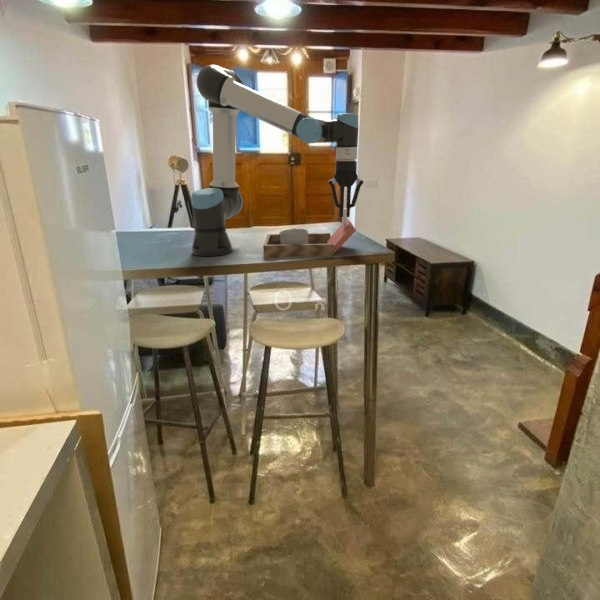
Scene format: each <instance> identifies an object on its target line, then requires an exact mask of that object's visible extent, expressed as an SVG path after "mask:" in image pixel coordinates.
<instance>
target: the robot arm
mask: <svg viewBox="0 0 600 600" xmlns="http://www.w3.org/2000/svg"><path fill="white" fill-rule="evenodd" d="M196 88H197V91H198V92H199V94H200V96H201V97H202V98H203V99H205V100H207V101H208V103H207V104H208V110H209V111H210V112H211V113H212V171H213V172H212V180H211V181H210V182H209V185H208V186H209V187H206V188H203V189H202V188H201V189H198V190H195V191H193V192H192V193H191V196H190V197H191V201H190V204H191V208H192V209H191V210H192V211H191V212H192V219H193V227H194V235H193V236H194V237H193V242H192V246H191V250H192V251H191V253H192V254H193V255H194V256H197V257H218V256H223V255H224V256H225V255H228V254H230V253H232V252H233V245H232V242H231V240H230V237H229V235H228V232H227V228H226V220H229V219H232V218H234V217H235V216H237V215H238V214H239V213H240V211H241V210H242V209H243V208H242V207H243V204H244V203H243V201H244V200H243V196H242V195H241V193H240V185H239V184H238V183H237V182H236V146H237V145H236V142H237V141H236V136H237V135H236V133H237V132H236V131H237V130H236V128H237V127H236V126H237V123H236V121H237V115H238V114H239V113H240V111H241V112H242V113H245V114H247V115H249V116H251V117H254V118H256V119H258V120H259V121H262V122H264V123H267V124H268V125H270V126H273V128H274V127H275V128H277V129H279V130H281V131H283V132H285V133H287V134H290V135H292V136H293V137H295V138H298V139H299V140H300V141H302V142H303V143H306V144H316V143H317V144H320V143H321V144H323V143H324V144H326V143H328V144H329V143H331V144H333V143H334V144H336V149H335V159H336V161H335V172H334V175H333V178H331V179H329V180H328V181H327V183H328V184H329V186H330V189H331V194H332V199H333V202H334V207H336V208H338V209H339V217H340V218H341V225H342V226H343V227H346V221H347V219H348V218H350V215H351V212H350V211H351V208H354V207H355V206H356V204H357V200H358V196H359V192H360V190H361V187H362V185H363V184H364V181H363V180H362V179H360V178H359V177H358V174H357V169H358V168H357V166H358V165H357V164H358V162H357V159H358V143H359V141H358V139H359V116H358V114H357V113H354V112H343V113H341V112H340V113H337V115H336V118H335V119H316V118H314V117H311V116H309V115H307V114H306V113H303V112H301V111H298V110H297V109H294V108H292V107H290V106H288V105H286V104H284V103H282V102H280V101H277V100H275V99H274V98H271V97H269V96H267V95H265V94H262V93H260V92H258V91H257V90H254V89H252V88H250V87H248V86H247V85H246V86H245V84H244V81H243V79H242V78H241V77H240V76H239V74H237V72H235V71H233V70H232V69H228V68H225V67H221V66H220V65H216V64H208V65H205V66H203V67H202V68H201V69H200V70H199V71H198V74H197V77H196ZM336 183H337V185H338V186H339V201H338V196H337V191H336V187H335V184H336ZM354 184H356V185H355V189H354V192H353V195H351V193H352V192H351V191H352V186H354ZM345 188H346V199H344V197H345ZM351 196H353V197H352V200H351ZM345 200H346V204H345V206H346V207H344V203H345V202H344V201H345Z"/></svg>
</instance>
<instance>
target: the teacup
mask: <svg viewBox="0 0 600 600" xmlns="http://www.w3.org/2000/svg"><path fill="white" fill-rule="evenodd" d="M308 233H309V231H308V229H306V228H291V229H284V230H281V231H279V232H278V234H280V242H281V245H285V244H308Z"/></svg>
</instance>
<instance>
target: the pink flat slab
mask: <svg viewBox="0 0 600 600" xmlns="http://www.w3.org/2000/svg"><path fill="white" fill-rule="evenodd" d="M356 231H357V229H356V228H355V226H354V225H353V223H352V222H351V221H350V219H348V218H347V221H346V227H343V226H342V224H341V225H340V226H339V227H338V228H337V229H336V230H335V231H334V232H333V233H332V234H331V235H330V238H329V239H328V240H327V244H334V254H336V253H337V251H339V250H340V249H341V247H343V245H344V244H345V243H346V242H347V241H348V240H349V238H351V236H353V235H354V233H356Z"/></svg>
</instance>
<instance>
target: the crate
mask: <svg viewBox="0 0 600 600" xmlns="http://www.w3.org/2000/svg"><path fill="white" fill-rule="evenodd" d="M330 237H331V233H330V232H320V233H318V232H316V233H315V232H313V233H309V232H308V244H285V245H281V242H280V234H279V233H267V234H266V237H265V239H264V240H265V241H264V242H263V245H262V247H263V259H267V257H268V259H270V257H272V259H273V258H280V257H281V258H285V257H287V258H288V257H289V258H290V257H291V258H292V257H293V258H294V257H334V255H335V253H334V244H327V240H328V239H329V238H330Z"/></svg>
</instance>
